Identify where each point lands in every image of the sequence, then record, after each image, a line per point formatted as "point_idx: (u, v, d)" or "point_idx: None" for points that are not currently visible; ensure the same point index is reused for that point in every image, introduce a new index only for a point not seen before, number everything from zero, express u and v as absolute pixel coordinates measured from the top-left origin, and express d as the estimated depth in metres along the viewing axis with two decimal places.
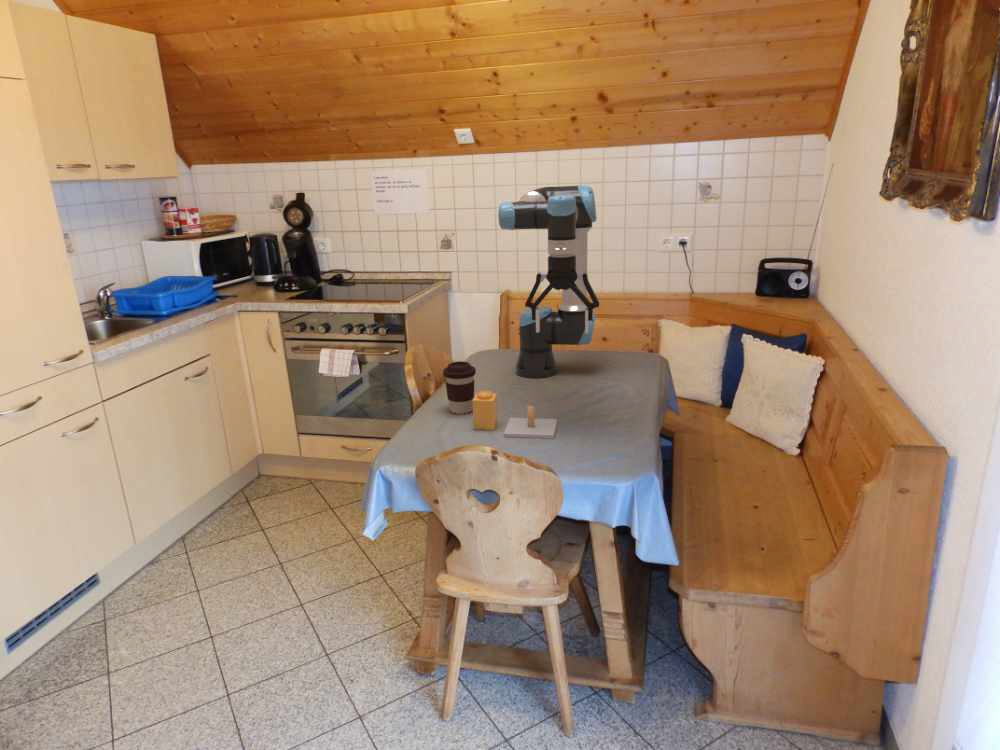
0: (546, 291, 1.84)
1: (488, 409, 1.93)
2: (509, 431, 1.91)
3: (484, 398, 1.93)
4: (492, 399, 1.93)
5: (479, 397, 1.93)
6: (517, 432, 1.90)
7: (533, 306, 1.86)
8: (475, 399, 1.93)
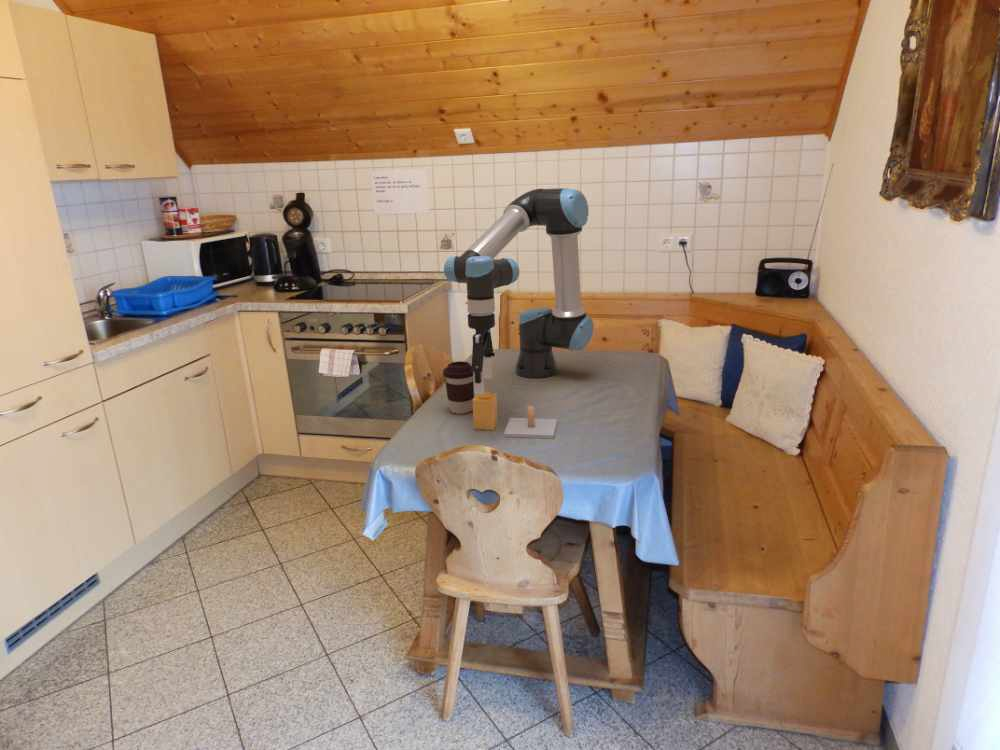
0: None
1: (488, 409, 1.93)
2: (509, 431, 1.91)
3: (484, 398, 1.93)
4: (492, 399, 1.93)
5: (479, 397, 1.93)
6: (517, 432, 1.90)
7: None
8: (475, 399, 1.93)
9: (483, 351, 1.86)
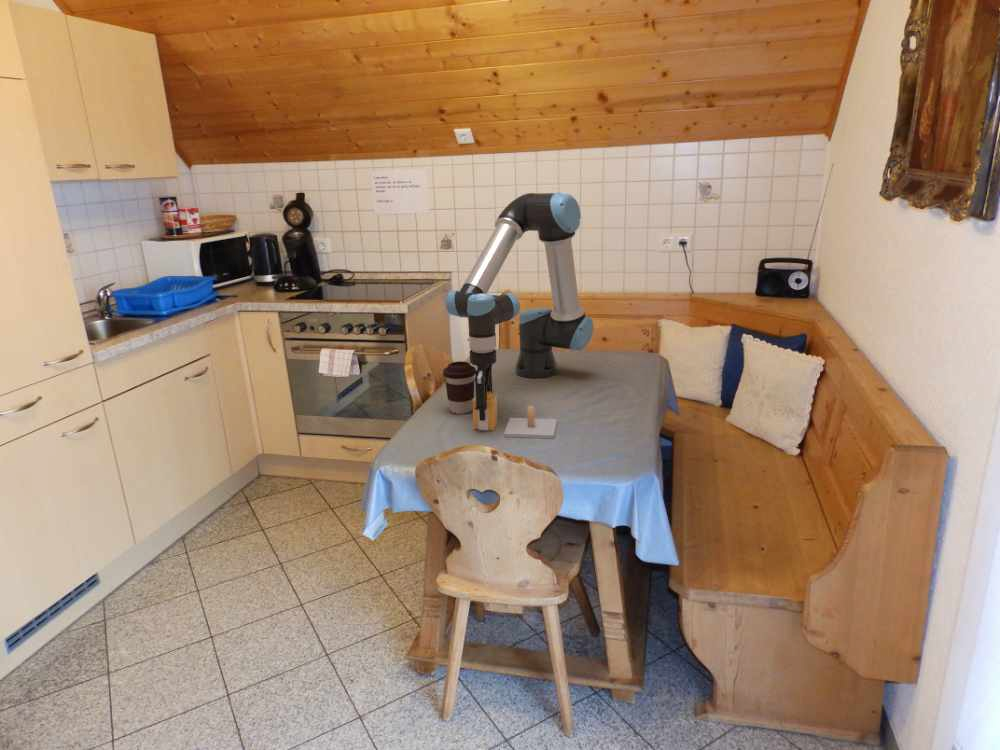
0: None
1: (488, 409, 1.93)
2: (509, 431, 1.91)
3: None
4: (492, 399, 1.93)
5: None
6: (517, 432, 1.90)
7: None
8: (475, 399, 1.93)
9: (486, 389, 1.91)
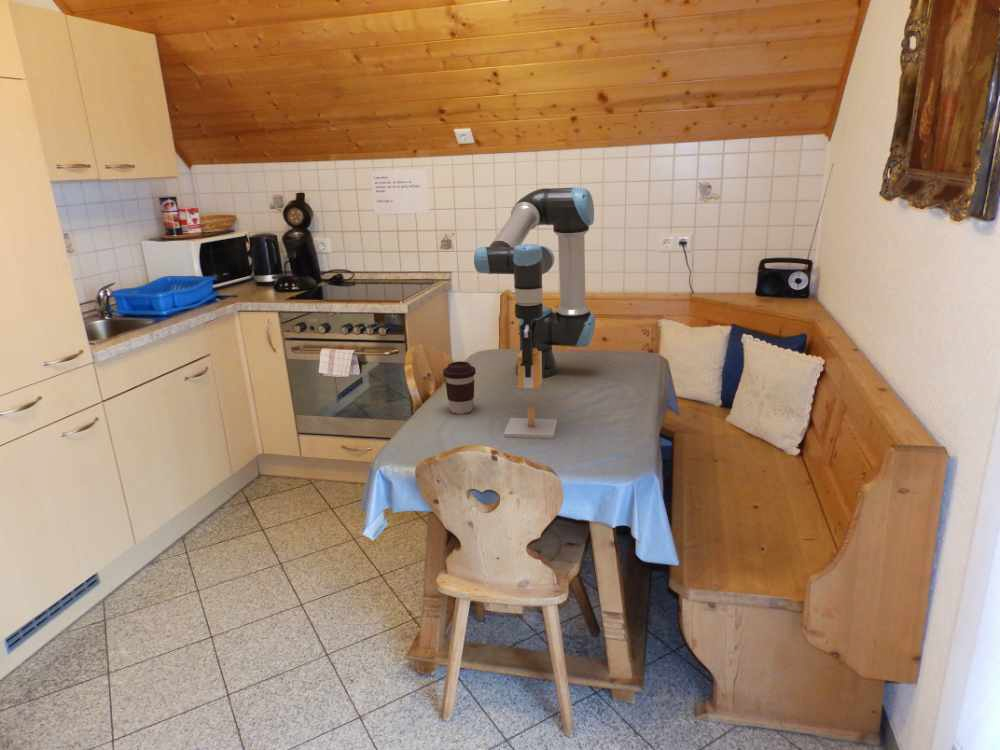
0: None
1: (534, 366, 1.85)
2: (509, 431, 1.91)
3: None
4: (538, 355, 1.85)
5: None
6: (517, 432, 1.90)
7: None
8: (520, 355, 1.85)
9: (532, 344, 1.83)
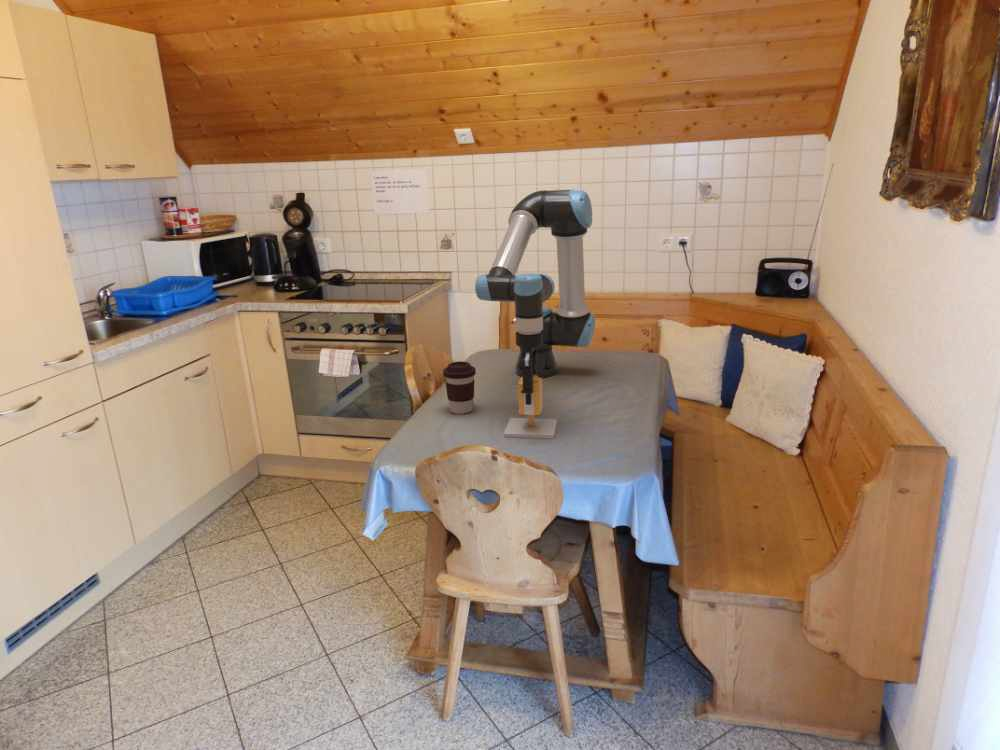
0: None
1: (534, 393, 1.87)
2: (509, 431, 1.91)
3: None
4: (538, 383, 1.87)
5: None
6: (517, 432, 1.90)
7: None
8: (521, 383, 1.88)
9: (532, 371, 1.85)
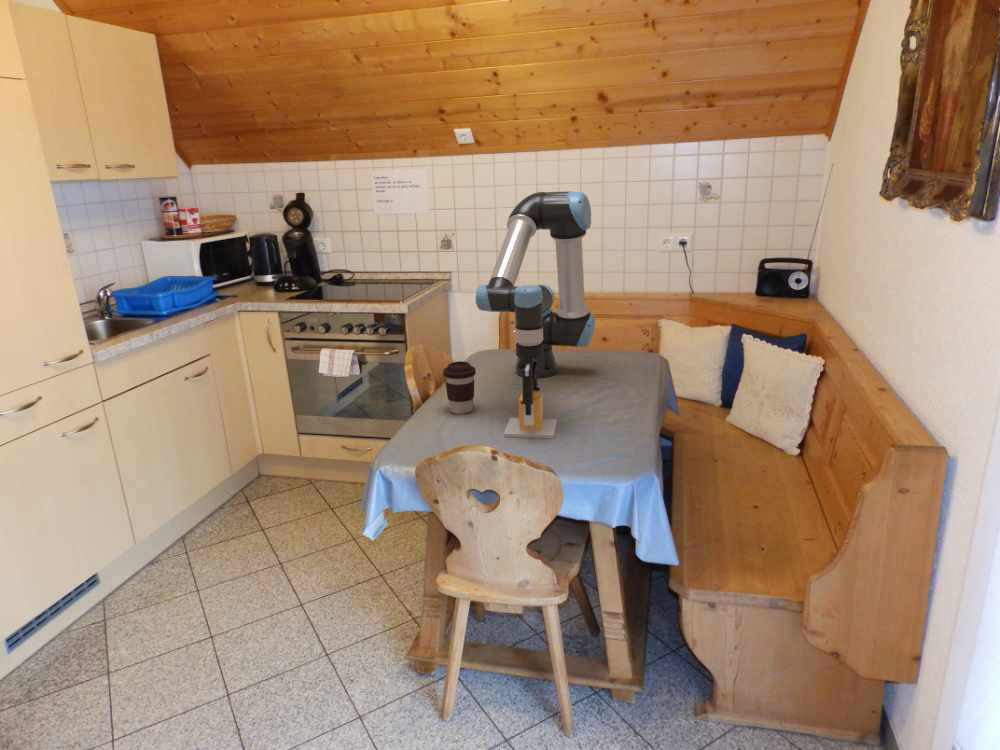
0: None
1: (535, 409, 1.89)
2: (509, 431, 1.91)
3: None
4: (539, 399, 1.89)
5: None
6: (517, 432, 1.90)
7: None
8: (521, 399, 1.89)
9: (532, 382, 1.86)
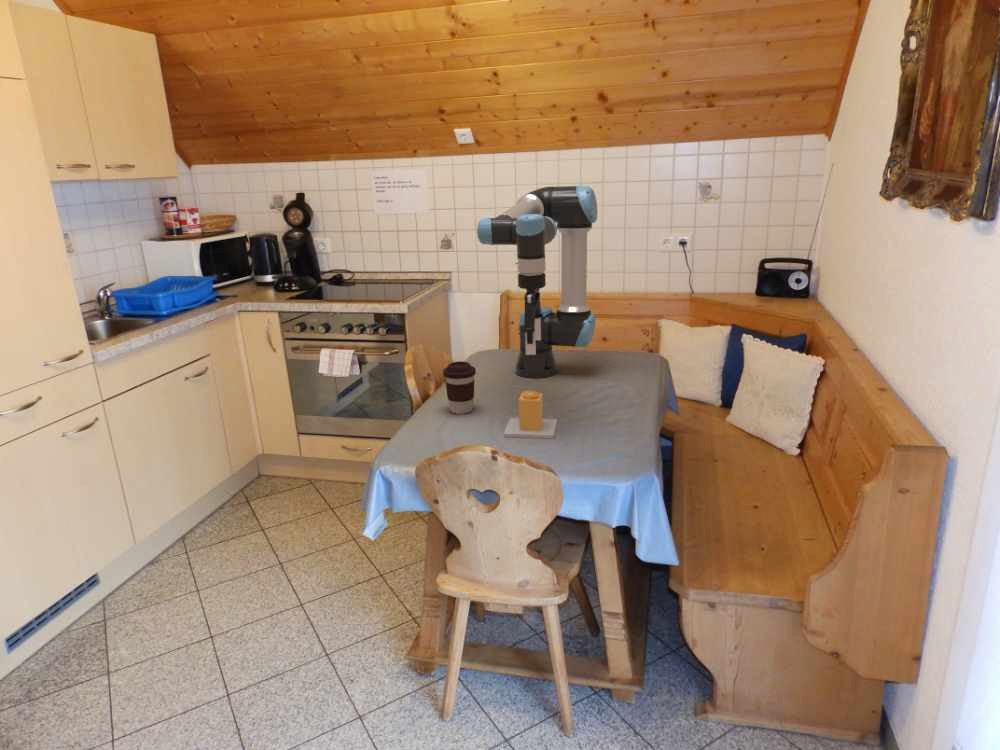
0: None
1: (535, 409, 1.89)
2: (509, 431, 1.91)
3: (530, 398, 1.89)
4: (539, 399, 1.89)
5: (525, 397, 1.89)
6: (517, 432, 1.90)
7: None
8: (521, 399, 1.89)
9: (535, 311, 1.83)
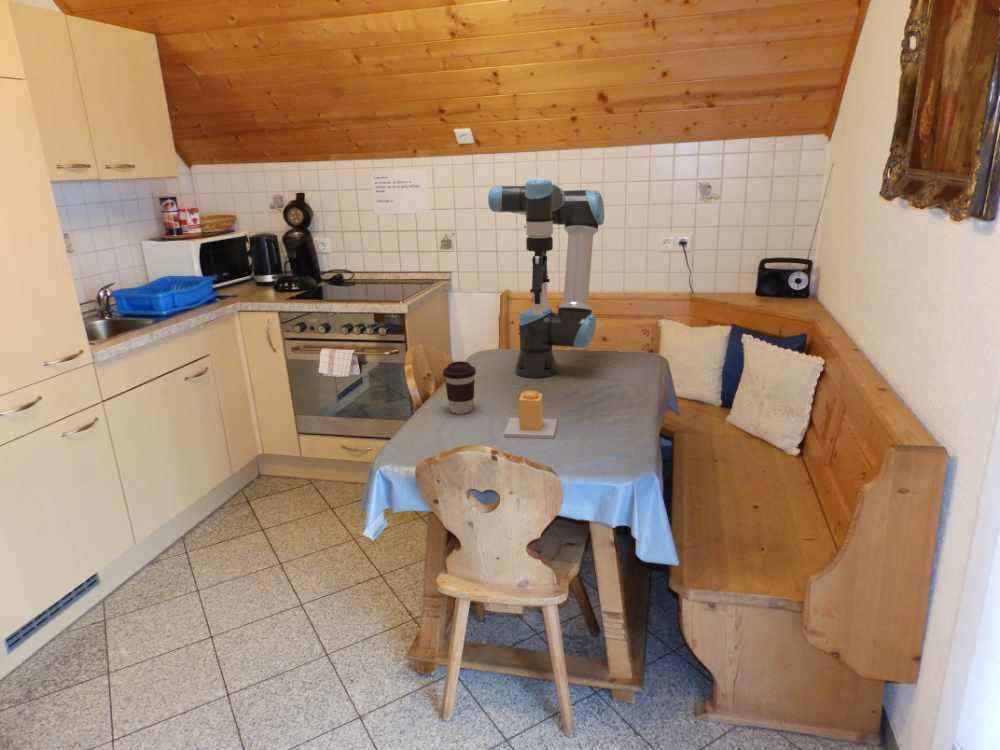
0: None
1: (535, 409, 1.89)
2: (509, 431, 1.91)
3: (530, 398, 1.89)
4: (539, 399, 1.89)
5: (525, 397, 1.89)
6: (517, 432, 1.90)
7: None
8: (521, 399, 1.89)
9: (542, 273, 1.90)
